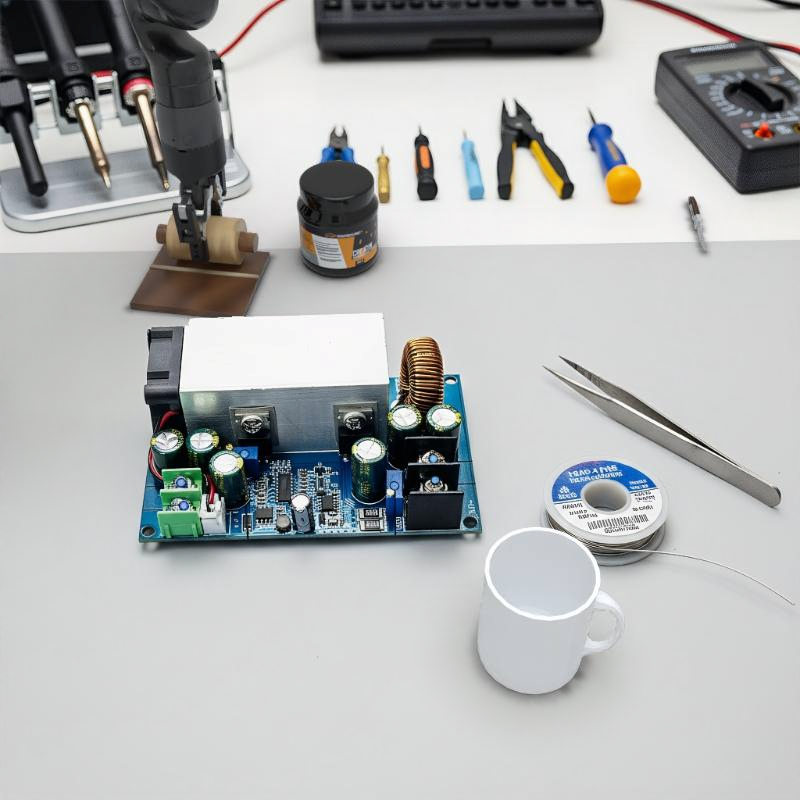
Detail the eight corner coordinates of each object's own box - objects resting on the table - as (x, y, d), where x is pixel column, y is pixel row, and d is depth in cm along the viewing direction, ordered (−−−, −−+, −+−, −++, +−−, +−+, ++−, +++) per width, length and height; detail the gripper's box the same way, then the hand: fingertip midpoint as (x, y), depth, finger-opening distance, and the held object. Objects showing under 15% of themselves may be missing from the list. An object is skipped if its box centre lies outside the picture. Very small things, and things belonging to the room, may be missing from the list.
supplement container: (325, 289, 128) (320, 210, 120) (286, 250, 135) (280, 171, 126) (393, 264, 132) (394, 185, 124) (353, 227, 139) (351, 150, 131)
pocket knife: (685, 202, 144) (688, 190, 143) (691, 202, 144) (694, 190, 143) (700, 256, 134) (703, 243, 133) (706, 256, 134) (710, 244, 133)
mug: (472, 607, 93) (480, 527, 85) (600, 606, 93) (620, 526, 85) (480, 698, 86) (489, 621, 78) (618, 697, 86) (641, 619, 78)
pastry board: (131, 309, 125) (129, 301, 124) (165, 248, 135) (164, 240, 134) (243, 320, 123) (242, 313, 123) (270, 258, 133) (269, 250, 132)
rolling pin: (155, 266, 130) (147, 227, 125) (170, 240, 134) (163, 201, 130) (252, 275, 128) (247, 236, 124) (263, 249, 133) (259, 210, 128)
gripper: (179, 100, 124) (197, 215, 136) (140, 157, 114) (163, 276, 125) (237, 104, 123) (250, 219, 135) (203, 163, 113) (221, 282, 124)
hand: (208, 246), depth 130 cm, fingers closed on rolling pin, 6 cm apart
